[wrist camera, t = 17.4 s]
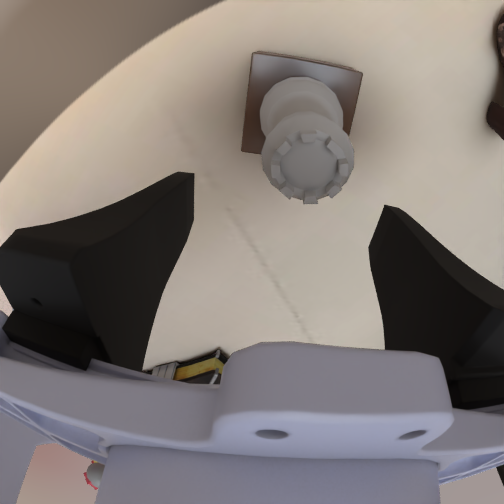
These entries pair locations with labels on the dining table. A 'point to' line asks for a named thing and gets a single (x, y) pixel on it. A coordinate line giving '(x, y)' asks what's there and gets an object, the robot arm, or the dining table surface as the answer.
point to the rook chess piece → (305, 140)
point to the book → (194, 370)
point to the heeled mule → (498, 116)
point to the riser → (283, 67)
